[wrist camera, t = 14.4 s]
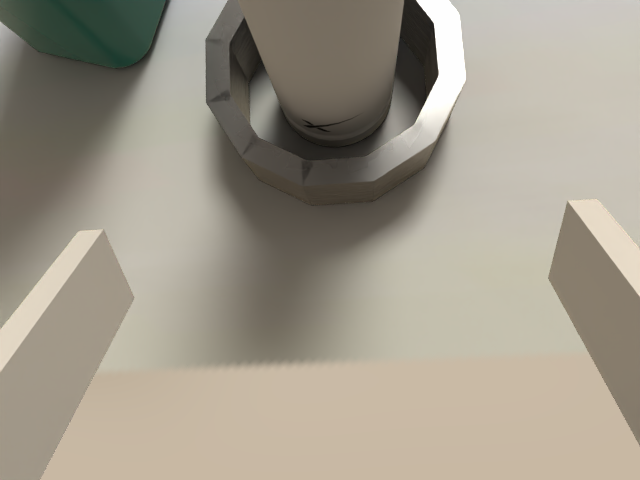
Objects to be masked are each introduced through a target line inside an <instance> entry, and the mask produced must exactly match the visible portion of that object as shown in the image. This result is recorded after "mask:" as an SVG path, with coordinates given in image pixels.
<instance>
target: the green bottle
mask: <svg viewBox="0 0 640 480" xmlns="http://www.w3.org/2000/svg"><path fill="white" fill-rule="evenodd" d="M165 3H166V0H0V22H2V23H3V24H4V25H5V26H7V27H8V28H9V29H10V30H12V31H13V32H14V33H15V34H17V35H18V36H19V37H20V38H22V39H23V40H24V41H26V42H27V43H28V44H29V45H31V46H32V47H33V48H35V49H36V50H37V51H38V52H43V53H47V54H52V55H57V56H61V57H66V58H70V59H75V60H79V61H84V62H89V63H93V64H98V65H102V66H107V67H111V68H116V69H117V68H122V67H128V66H130V65H132V64H134V63H136V62H137V61H139V60H141V59H142V58H143V57H144V55H145V54H146V53H147V52H148V51H149V49H150V47H151V44H152V41H153V38H154V35H155V32H156V29H157V26H158V23H159V20H160V17H161V15H162V12H163V9H164V6H165Z"/></svg>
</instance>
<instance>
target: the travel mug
mask: <svg viewBox="0 0 640 480" xmlns="http://www.w3.org/2000/svg"><path fill="white" fill-rule="evenodd" d="M238 2H239V5H240V7H241V9H242V12H243V14H244V17H245V19H246V22H247V24H248V27H249V29H250V32H251V34H252V36H253V39H254V41H255V44H256V46H257V49H258V51H259V54H260V56H261V58H262V61H263V63H264V66H265V68H266V71H267V73H268V76H269V78H270V80H271V83H272V85H273V88H274V90H275V93H276V95H277V98H278V100H279V103H280V105H281V107H282V110H283V112H284V115H285V117H286V119H287V121H288V122H289V124H290V125H291V127H292V128H293V129H294V130H295V131H296V132H297V133H298V134H299V135H300V136H302V137H303V138H305V139H307V140H308V141H310V142H313V143H316V144H319V145H323V146H330V147H336V146H345V145H350V144H353V143H356V142H358V141H360V140H363V139H364V138H366V137H367V136H369V135H370V134H372V133H373V132H374V131H375V130H376V129H377V128H378V127H379V126H380V125H381V123H382V122H383V120H384V118H385V117H386V115H387V113H388V110H389V108H390V104H391V98H392V92H393V83H394V76H395V68H396V60H397V52H398V44H399V37H400V29H401V21H402V13H403V5H404V0H238Z"/></svg>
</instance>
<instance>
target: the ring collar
mask: <svg viewBox="0 0 640 480" xmlns="http://www.w3.org/2000/svg"><path fill="white" fill-rule="evenodd" d="M400 36H401V37H402V39H403V40H404V41H405V43H406V44H407V45H408V46H409V48H410V49H411V50H412V52H413V53H414V54H415V56H416V57H417V58H418V60H419V61H420V62H421V63H422V65H423V66H424V74H425V85H426V97H427V100H426V102H425V104H424V106H423V108H422V110H421V112H420V114H419V116H418V118H417V120H416V122H415V124H414V125H413V126H411V127H410V128H408V129H407V130H405V131H404V132H402V133H401V134H399V135H398V136H396V137H395V138H393V139H392V140H390V141H388V142H387V143H385V144H384V145H382V146H381V147H379V148H378V149H376V150H375V151H373V152H372V153H370V154H369V155H367V156H365V157H352V158H339V159H326V160H313V161H307V160H305V159H303V158H301V157H299V156H297V155H295V154H292V153H290V152H288V151H286V150H284V149H282V148H280V147H277V146H275V145H273V144H271V143H269V142H267V141H265V140H263V139H260V138H258V136H257V135H256V133H255V132H254V130H253V129H252V127H251V125H250V101H249V82H250V80H251V78H252V76H253V75H254V73H255V71H256V69H257V67H258V66H259V64H260V62H261V60H262V58H261V56H260V54H259V51H258V49H257V46H256V44H255V41H254V39H253V36H252V34H251V32H250V29H249V27H248V24H247V22H246V19H245V17H244V14H243V12H242V9H241V7H240V5H239V2H238V0H228V1H227V3H226V5H225V7H224V8H223V10H222V12H221V14H220V15H219V17H218V19H217V21H216V23H215V24H214V26H213V28H212V30H211V31H210V33H209V35H208V37H207V38H206V103H207V105H208V106H209V108H210V109H211V111H212V113H213V114H214V116H215V117H216V119H217V120H218V122H219V124H220V125H221V127H222V128H223V130H224V131H225V133H226V134H227V136H228V138H229V139H230V141H231V142H232V144H233V145H234V147H235V148H236V150H237V152H238V153H239V155H240V156H241V158H242V159H243V160H244V161H245V163H246V164H247V165H248V166H249V168H250V169H251V170H252V171H253V173H254V174H255V175H256V176H257V177H258V179H259V180H260V181H262V182H265V183H267V184H269V185H271V186H273V187H275V188H277V189H279V190H281V191H283V192H285V193H287V194H289V195H291V196H293V197H295V198H297V199H299V200H302V201H304V202H306V203H308V204H310V205H312V206H313V205H328V204H342V203H357V202H372V201H374V200H376V199H377V198H379V197H380V196H382V195H383V194H385V193H386V192H388V191H390V190H391V189H393V188H394V187H396V186H397V185H399V184H400V183H402V182H403V181H405V180H406V179H408V178H409V177H411V176H413V175H414V174H416V173H417V172H419V171H420V170H422V169H423V168H424V167H425V165H426V163H427V161H428V159H429V157H430V155H431V153H432V151H433V149H434V147H435V145H436V143H437V141H438V139H439V137H440V135H441V133H442V131H443V129H444V127H445V125H446V123H447V121H448V119H449V117H450V115H451V113H452V111H453V108H454V106H455V104H456V101H457V99H458V97H459V94H460V92H461V90H462V88H463V85H464V83H465V81H466V74H465V64H464V55H463V45H462V35H461V26H460V16H459V13H458V12H457V11H456V9H455V8H454V7H453V6H452V4H451V3H450V2H449V1H448V0H404V5H403V13H402V21H401V29H400Z"/></svg>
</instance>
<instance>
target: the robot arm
mask: <svg viewBox="0 0 640 480" xmlns="http://www.w3.org/2000/svg"><path fill="white" fill-rule="evenodd" d="M548 279H549V281H550V282H551V284H552V286H553V288H554V290H555V292H556V293H557V295H558V297H559V299H560V301H561V303H562V304H563V306H564V308H565V310H566V312H567V314H568V315H569V317H570V319H571V321H572V323H573V325H574V326H575V328H576V330H577V332H578V334H579V335H580V337H581V339H582V341H583V343H584V345H585V346H586V348H587V350H588V352H589V354H590V356H591V357H592V359H593V361H594V363H595V365H596V367H597V368H598V370H599V372H600V374H601V376H602V378H603V379H604V381H605V383H606V385H607V386H608V388H609V390H610V392H611V394H612V396H613V398H614V399H615V401H616V403H617V405H618V407H619V409H620V410H621V412H622V414H623V416H624V417H625V420H626V421H627V423H628V425H629V427H630V428H631V430H632V432H633V434H634V436H635V438H636V440H637V441H638V443H639V445H640V248H639V247H638V246H637V245H636V244H635V242H634V241H633V240H632V239H631V238H630V237H629V235H628V234H627V233H626V232H625V231H624V230H623V228H622V227H621V226H620V225H619V224H618V223H617V221H616V220H615V219H614V218H613V217H612V216H611V214H610V213H609V212H608V211H607V210H606V209H605V207H604V206H603V205H602V204H601V203H600V202H599V200H598V199H589V200H572V201H567V205H566V209H565V213H564V217H563V221H562V225H561V229H560V233H559V237H558V241H557V245H556V249H555V253H554V257H553V261H552V265H551V269H550V273H549V277H548ZM133 300H134V296H133V294H132V291H131V289H130V287H129V285H128V282H127V280H126V278H125V276H124V274H123V271H122V269H121V267H120V265H119V263H118V260H117V258H116V256H115V254H114V251H113V249H112V247H111V245H110V243H109V240H108V238H107V236H106V234H105V231H104V229H101V230H84V231H78V233H77V234H76V235H75V236H74V238H73V239H72V240H71V241H70V243H69V244H68V245H67V246H66V248H65V249H64V250H63V251H62V253H61V254H60V255H59V256H58V258H57V259H56V260H55V261H54V263H53V264H52V265H51V267H50V268H49V269H48V270H47V272H46V273H45V274H44V275H43V277H42V278H41V279H40V280H39V282H38V283H37V284H36V285H35V287H34V288H33V289H32V290H31V292H30V293H29V294H28V296H27V297H26V298H25V299H24V301H23V302H22V303H21V304H20V306H19V307H18V308H17V309H16V311H15V312H14V313H13V314H12V316H11V317H10V318H9V319H8V321H7V322H6V323H5V324H4V326H3V327H2V328H1V330H0V480H40V479H41V477H42V475H43V473H44V471H45V469H46V467H47V465H48V463H49V461H50V459H51V457H52V456H53V454H54V452H55V450H56V448H57V446H58V444H59V442H60V440H61V438H62V436H63V434H64V432H65V431H66V428H67V427H68V425H69V422H70V421H71V419H72V417H73V415H74V413H75V411H76V409H77V407H78V406H79V404H80V402H81V400H82V398H83V396H84V394H85V392H86V390H87V388H88V386H89V384H90V382H91V381H92V379H93V377H94V375H95V373H96V371H97V369H98V367H99V365H100V363H101V361H102V359H103V357H104V356H105V354H106V352H107V350H108V348H109V346H110V344H111V342H112V340H113V338H114V336H115V334H116V332H117V331H118V329H119V327H120V325H121V323H122V321H123V319H124V317H125V315H126V313H127V311H128V309H129V307H130V306H131V304H132V302H133Z"/></svg>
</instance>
